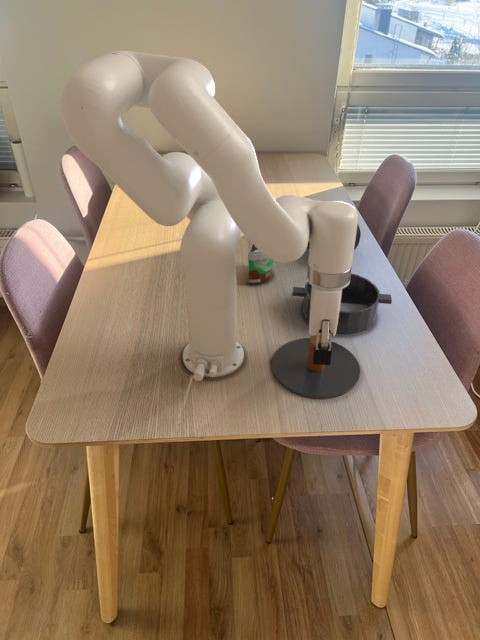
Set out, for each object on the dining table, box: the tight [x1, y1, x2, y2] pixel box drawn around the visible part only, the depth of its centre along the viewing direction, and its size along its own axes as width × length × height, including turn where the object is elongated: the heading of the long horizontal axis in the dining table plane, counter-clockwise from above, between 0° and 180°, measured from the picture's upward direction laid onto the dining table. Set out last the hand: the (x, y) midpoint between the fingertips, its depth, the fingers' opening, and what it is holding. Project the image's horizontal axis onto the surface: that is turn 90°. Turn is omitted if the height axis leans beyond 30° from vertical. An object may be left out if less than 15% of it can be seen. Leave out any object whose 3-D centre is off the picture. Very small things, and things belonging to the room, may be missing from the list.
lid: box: [271, 335, 361, 400], centre depth 102 cm, size 18×18×8 cm
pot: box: [291, 272, 393, 335], centre depth 117 cm, size 17×22×6 cm
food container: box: [247, 243, 274, 286], centre depth 129 cm, size 12×6×10 cm, turn 168°
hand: (321, 347), depth 100 cm, fingers open, 9 cm apart
